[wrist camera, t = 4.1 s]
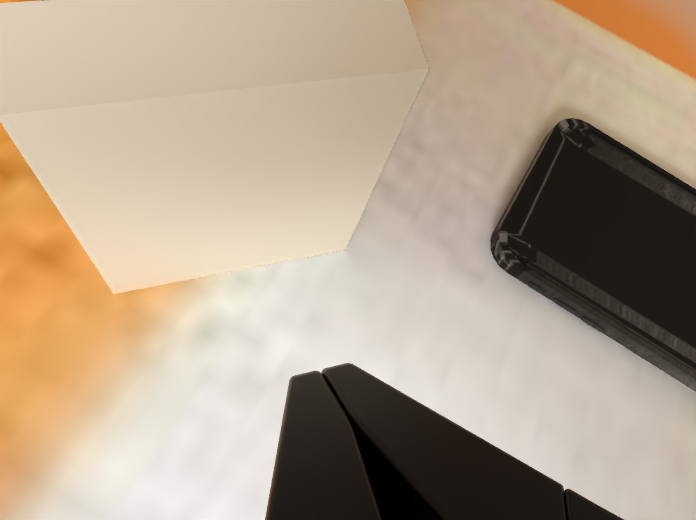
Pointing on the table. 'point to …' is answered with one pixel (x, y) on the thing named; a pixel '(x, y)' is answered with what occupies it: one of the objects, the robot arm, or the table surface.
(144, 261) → the cream flat block
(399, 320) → the table surface
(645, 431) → the table surface
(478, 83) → the table surface
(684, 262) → the phone
